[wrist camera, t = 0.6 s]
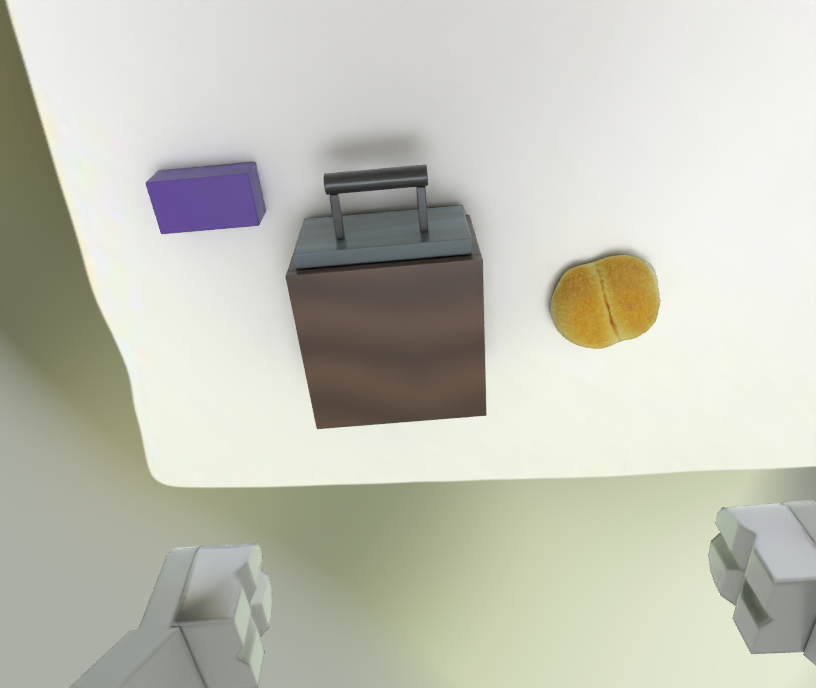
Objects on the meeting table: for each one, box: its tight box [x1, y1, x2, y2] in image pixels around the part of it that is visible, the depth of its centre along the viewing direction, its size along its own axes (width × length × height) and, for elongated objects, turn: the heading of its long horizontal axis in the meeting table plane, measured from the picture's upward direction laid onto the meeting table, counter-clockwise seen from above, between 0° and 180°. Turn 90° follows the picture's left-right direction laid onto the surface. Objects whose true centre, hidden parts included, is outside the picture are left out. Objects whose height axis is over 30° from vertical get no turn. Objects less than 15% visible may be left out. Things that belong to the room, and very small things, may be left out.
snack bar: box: [146, 162, 266, 234], centre depth 48 cm, size 4×8×3 cm, turn 95°
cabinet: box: [286, 215, 486, 429], centre depth 51 cm, size 14×14×9 cm
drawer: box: [293, 165, 472, 269], centre depth 49 cm, size 17×12×7 cm
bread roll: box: [550, 255, 661, 349], centre depth 53 cm, size 8×9×4 cm
